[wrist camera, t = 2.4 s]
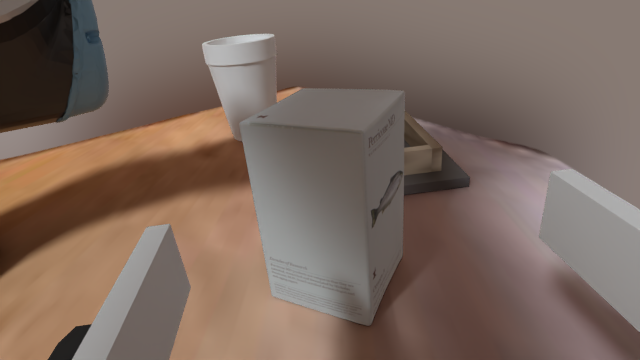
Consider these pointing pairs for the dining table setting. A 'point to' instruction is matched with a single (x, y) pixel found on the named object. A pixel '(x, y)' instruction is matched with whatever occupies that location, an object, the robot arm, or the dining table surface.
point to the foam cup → (243, 75)
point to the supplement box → (329, 196)
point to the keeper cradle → (427, 162)
